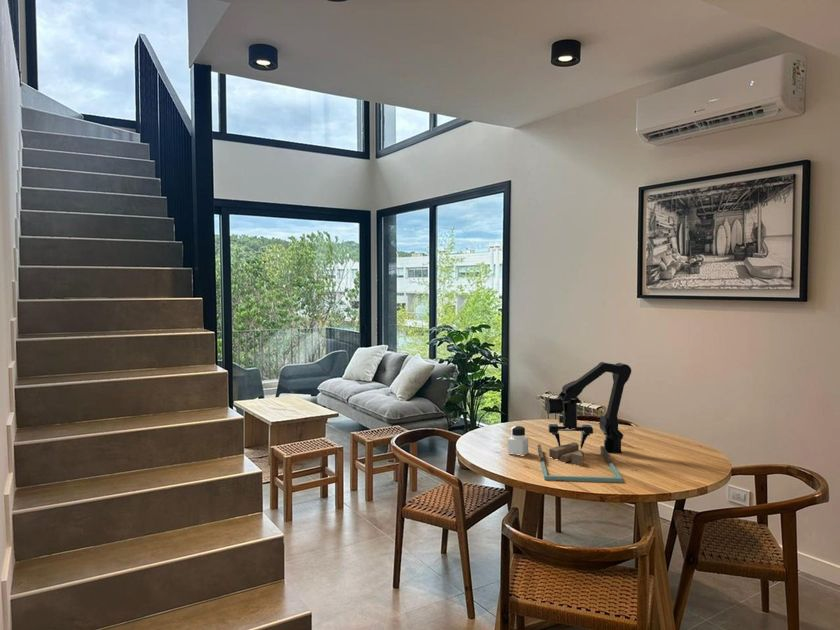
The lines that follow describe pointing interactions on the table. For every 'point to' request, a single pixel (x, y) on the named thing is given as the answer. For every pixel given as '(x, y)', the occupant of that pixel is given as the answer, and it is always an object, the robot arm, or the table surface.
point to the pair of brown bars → (602, 450)
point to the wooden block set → (568, 453)
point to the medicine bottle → (518, 441)
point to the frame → (584, 478)
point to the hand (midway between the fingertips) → (570, 448)
